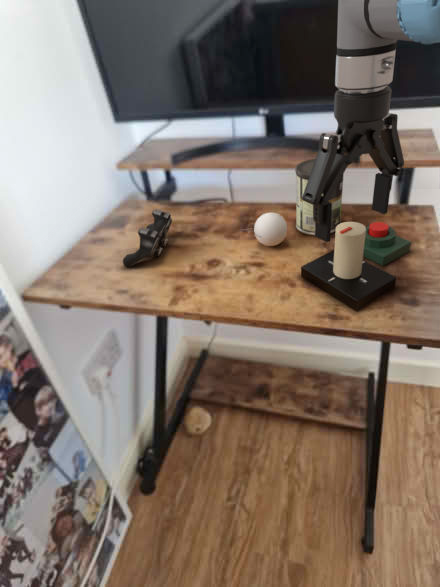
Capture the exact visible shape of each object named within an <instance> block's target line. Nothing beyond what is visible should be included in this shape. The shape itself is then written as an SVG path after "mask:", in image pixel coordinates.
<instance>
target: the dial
mask: <svg viewBox="0 0 440 587" xmlns="http://www.w3.org/2000/svg"><path fill="white" fill-rule="evenodd" d="M340 223H341V224H339V225H337V227H336V231H335V232H334V233H335V234H334V248H333V250H334V264H333V272H334V274H335V275H336V276H337V277H339V278H343V279H353V278H356V277H358V276H359V275H360V274H361V270H362V261H363V260H364V256H363V253H364V244H365V235H366V226H365V225H364V224H363V223H360V222H358V221H344V222H340Z"/></svg>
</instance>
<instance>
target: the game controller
mask: <svg viewBox="0 0 440 587" xmlns="http://www.w3.org/2000/svg"><path fill="white" fill-rule="evenodd" d="M151 215H152V217H153V223H150V224H147V225H146V227H140V228H139V229H138V231H137V234H138V236H139V247H138V248H139V249H137V250H136V251H135V252H132V253H128V254H126V255H125V256H124V257H123V258H122V264H123V266H124V267H125V268H129V267H133V266H134V265H135V266H136V265H137V264H139V263H141V262H143V261H146V260H148V259H152V258H153V257H155V256H156V257H160V256H161V254H162V251H163V248H165V247H166V246H167V245H168V242H169V239H168V238H167V237H166V236H167V234H168V232H169V230H170V228H171V226H172V225H171V224H172V223H173V218H172V217H171V212H168V211H166V212H165V211H163V210H162V209H154V210H152V212H151ZM165 237H166V238H165ZM162 244H163V245H162ZM161 246H162V247H161ZM156 254H157V255H156Z"/></svg>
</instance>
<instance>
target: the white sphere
mask: <svg viewBox="0 0 440 587" xmlns="http://www.w3.org/2000/svg"><path fill="white" fill-rule="evenodd" d="M251 229H253V234H254V237H255V238H256V239H257V241H258V242H259V243H260V244H262V245H263V246H266V247H274V246H278V245H279V244H281V243H283V241H284V240H285V238H286V237H287V234H288V224H287V221H286V219H285V218H284V217H283V216H282V215H281V214H279V213H277V212H266V213H263V214H261V215H260V216H259V217H258V218H257V219H256V221H255V223H254V226H253V228H252V227H251V228H249V230H251ZM246 230H247V228H245V229H242V231H246Z"/></svg>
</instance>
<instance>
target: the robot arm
mask: <svg viewBox="0 0 440 587" xmlns="http://www.w3.org/2000/svg"><path fill="white" fill-rule="evenodd" d="M337 1H338V2H337V29H336V30H337V31H336V32H337V34H336V55H335V56H336V57H335V75H334V86H335V87H336V88H337V90H336V91H335V92H334V105H333V117H334V118H335V120H336V122H337V128H336V131H335V133H331V134H330V133H326V132H323V133H321V134H320V135H319V142H318V150H317V153H316V156H315V158H314V159H315V162H314V165H313V168H312V171H311V173H310V176H309V179H308V182H307V185H306V188H305V191H304V194H303V197H302V200H303V201H305V202H307V203H310V204H312V205H313V220H314V222H315V235H314V237H315V238H317V239H319V240H321V241H323V242H325V243H328V242H330V241H331V236H332V233H331V214H332V203H330V202H328V201H329V199H330V197H331V195H332V194H333V192H334V190H335V188H336V186H337V184H338V183H339V181H340V179H341V177H342V175H343V173H344V174H345V172H346V170H347V168H348V166H349V165H352V164H353V163H354V161H355V159H358V158H360V157H361V156H363V155H367V154H368V155H369V157H370V158H371V159H372V160H371V161H373V163H374V165H375V166H376V168H377V169H378V171H379V172H378V173H375V176H374V184H373V194H372V203H371V210H372V211H374V212H378V213H380V214H382V215H385V214H387V213H388V209H389V203H390V195H391V191H392V186H393V179H394V177H398V176H399V175H400V174H401V169H402V168H403V167H404V166H405V159H404V154H403V150H402V149H403V148H402V146H401V140H400V136H399V131H398V119H399V118H398V114H397V113H392V112H390V106H391V99H392V88H391V87H390V86H389V85H390V84H391V83H392V82H393V78H394V68H395V60H396V59H395V58H396V51H397V50H396V49H398V41H406V42H415V43H420V44H422V45H433V44H435V43H436V44H437V43H438V44H439V43H440V0H337ZM341 153H342V154H341ZM343 176H344V175H343ZM322 193H323V196H322Z"/></svg>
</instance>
